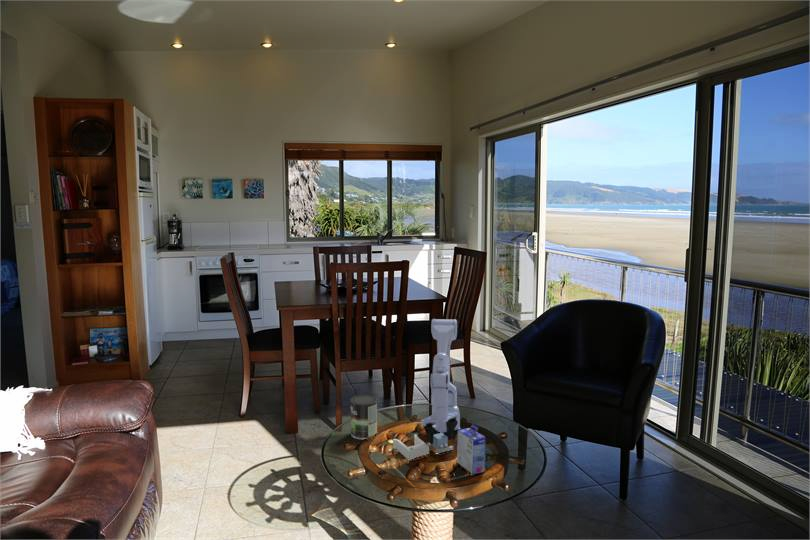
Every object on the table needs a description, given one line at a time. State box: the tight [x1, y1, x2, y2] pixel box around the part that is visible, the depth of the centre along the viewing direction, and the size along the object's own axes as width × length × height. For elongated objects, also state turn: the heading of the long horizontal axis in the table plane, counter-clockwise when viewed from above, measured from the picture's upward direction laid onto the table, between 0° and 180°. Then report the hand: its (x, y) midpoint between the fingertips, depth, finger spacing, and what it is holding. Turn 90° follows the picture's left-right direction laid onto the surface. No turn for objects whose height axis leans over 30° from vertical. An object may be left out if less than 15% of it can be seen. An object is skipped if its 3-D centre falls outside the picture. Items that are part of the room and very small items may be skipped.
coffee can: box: [349, 394, 378, 441], centre depth 222 cm, size 10×10×14 cm
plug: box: [433, 432, 449, 449], centre depth 207 cm, size 4×5×5 cm
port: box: [392, 434, 430, 461], centre depth 206 cm, size 10×11×4 cm
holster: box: [426, 442, 454, 453], centre depth 208 cm, size 7×7×2 cm
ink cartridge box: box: [456, 424, 487, 475], centre depth 194 cm, size 10×6×14 cm, turn 27°
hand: (440, 440), depth 208 cm, fingers open, 7 cm apart
